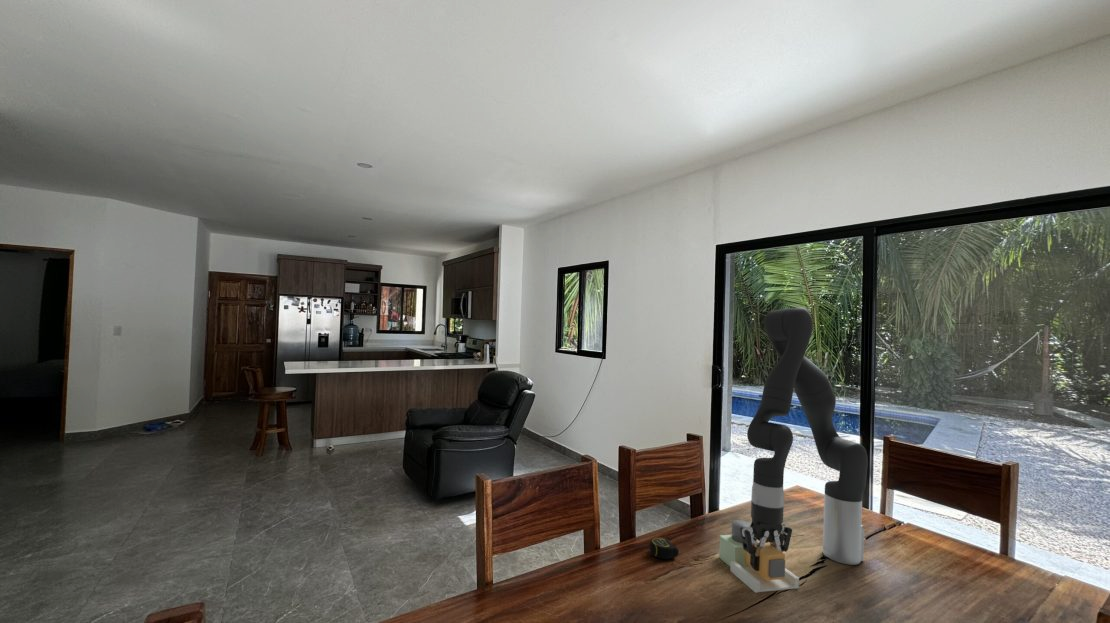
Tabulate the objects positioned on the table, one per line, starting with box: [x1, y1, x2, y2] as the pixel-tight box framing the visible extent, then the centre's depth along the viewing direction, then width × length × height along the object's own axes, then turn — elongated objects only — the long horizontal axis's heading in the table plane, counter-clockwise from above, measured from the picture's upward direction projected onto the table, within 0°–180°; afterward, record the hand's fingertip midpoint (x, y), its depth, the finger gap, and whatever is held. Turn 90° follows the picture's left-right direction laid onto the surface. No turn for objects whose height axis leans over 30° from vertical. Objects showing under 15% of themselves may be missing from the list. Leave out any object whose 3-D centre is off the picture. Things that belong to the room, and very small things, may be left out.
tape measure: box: [649, 537, 680, 560], centre depth 129 cm, size 7×7×4 cm
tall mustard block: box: [746, 540, 786, 580], centre depth 119 cm, size 5×9×6 cm, turn 13°
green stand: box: [718, 519, 800, 594], centre depth 123 cm, size 12×17×10 cm
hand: (764, 568), depth 119 cm, fingers closed on tall mustard block, 5 cm apart
